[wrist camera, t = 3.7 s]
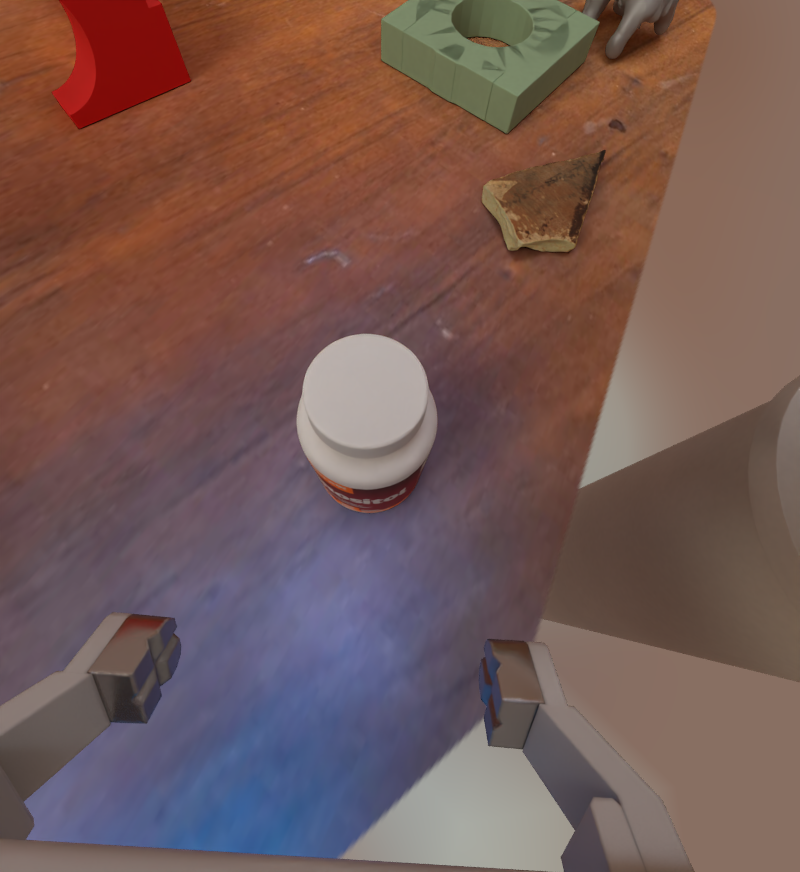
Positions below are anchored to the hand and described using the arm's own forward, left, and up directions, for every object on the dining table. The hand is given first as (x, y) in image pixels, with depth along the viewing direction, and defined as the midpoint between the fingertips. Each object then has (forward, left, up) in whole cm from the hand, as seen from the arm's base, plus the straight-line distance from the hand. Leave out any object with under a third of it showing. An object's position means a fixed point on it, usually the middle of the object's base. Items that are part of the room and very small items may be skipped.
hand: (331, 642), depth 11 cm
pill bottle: (+5, -7, -13) cm, 15 cm away
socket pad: (+22, -43, -13) cm, 50 cm away
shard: (+9, -31, -13) cm, 35 cm away
